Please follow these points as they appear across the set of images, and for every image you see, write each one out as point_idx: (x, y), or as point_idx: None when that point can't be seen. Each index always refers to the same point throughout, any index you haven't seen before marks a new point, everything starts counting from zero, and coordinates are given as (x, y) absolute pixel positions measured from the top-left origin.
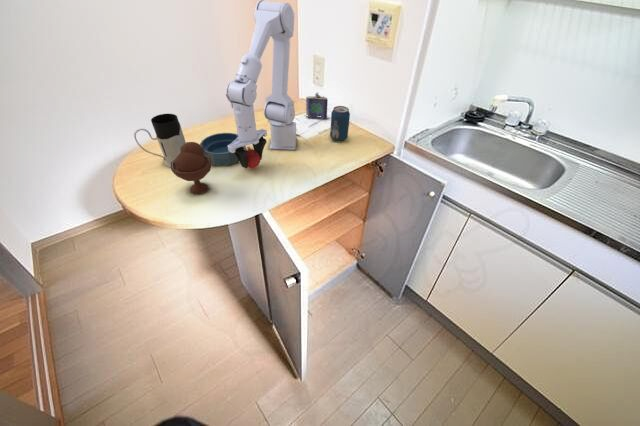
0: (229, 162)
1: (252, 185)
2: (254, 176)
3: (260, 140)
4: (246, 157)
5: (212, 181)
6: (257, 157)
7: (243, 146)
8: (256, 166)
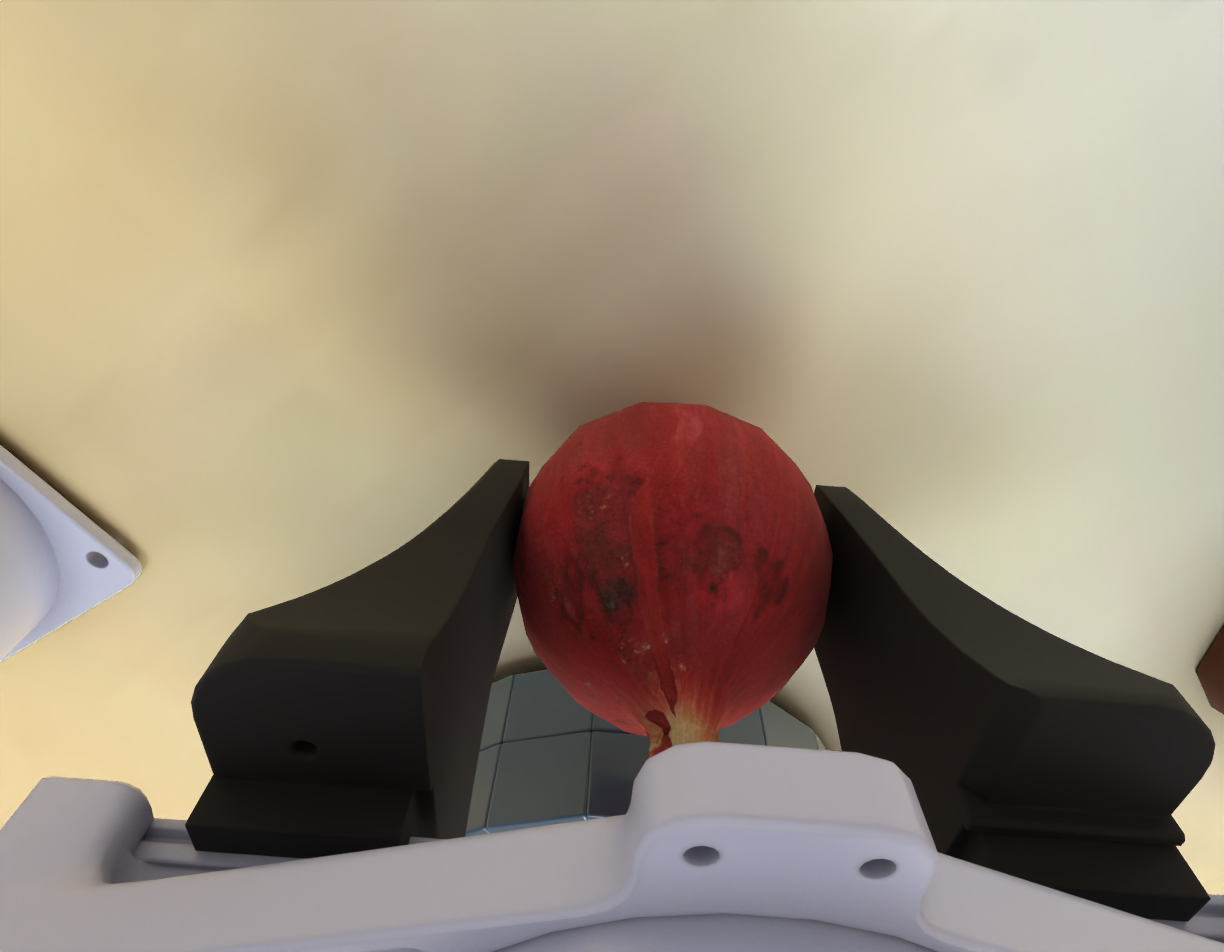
0: (766, 719)
1: (1063, 170)
2: (817, 313)
3: (362, 761)
4: (927, 602)
5: (1118, 640)
6: (656, 481)
7: (496, 806)
8: (693, 404)
